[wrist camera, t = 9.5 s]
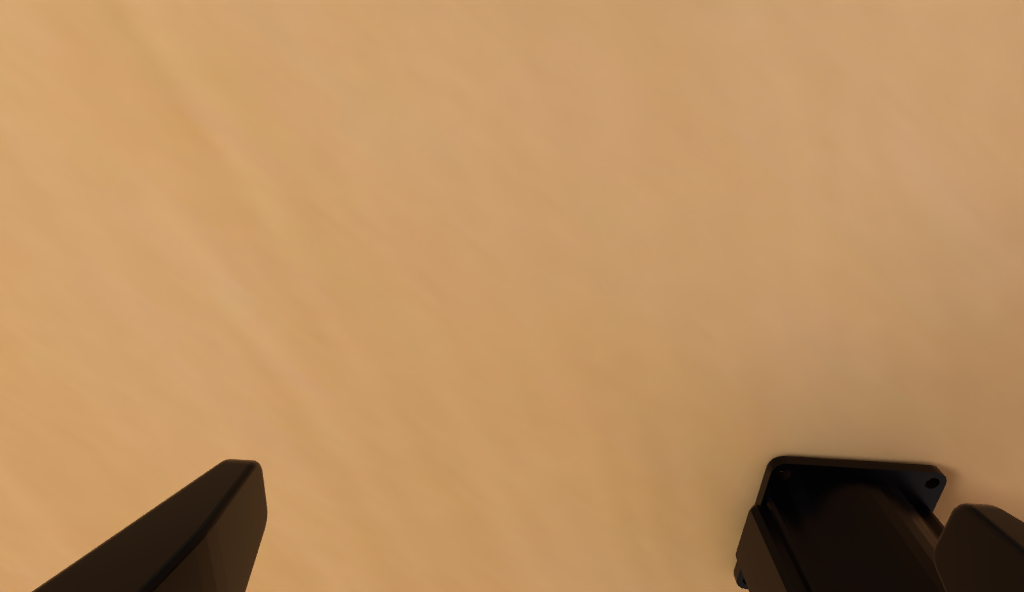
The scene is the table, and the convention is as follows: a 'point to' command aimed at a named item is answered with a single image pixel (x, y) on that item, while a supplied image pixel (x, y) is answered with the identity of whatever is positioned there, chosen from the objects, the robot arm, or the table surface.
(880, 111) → the table surface
